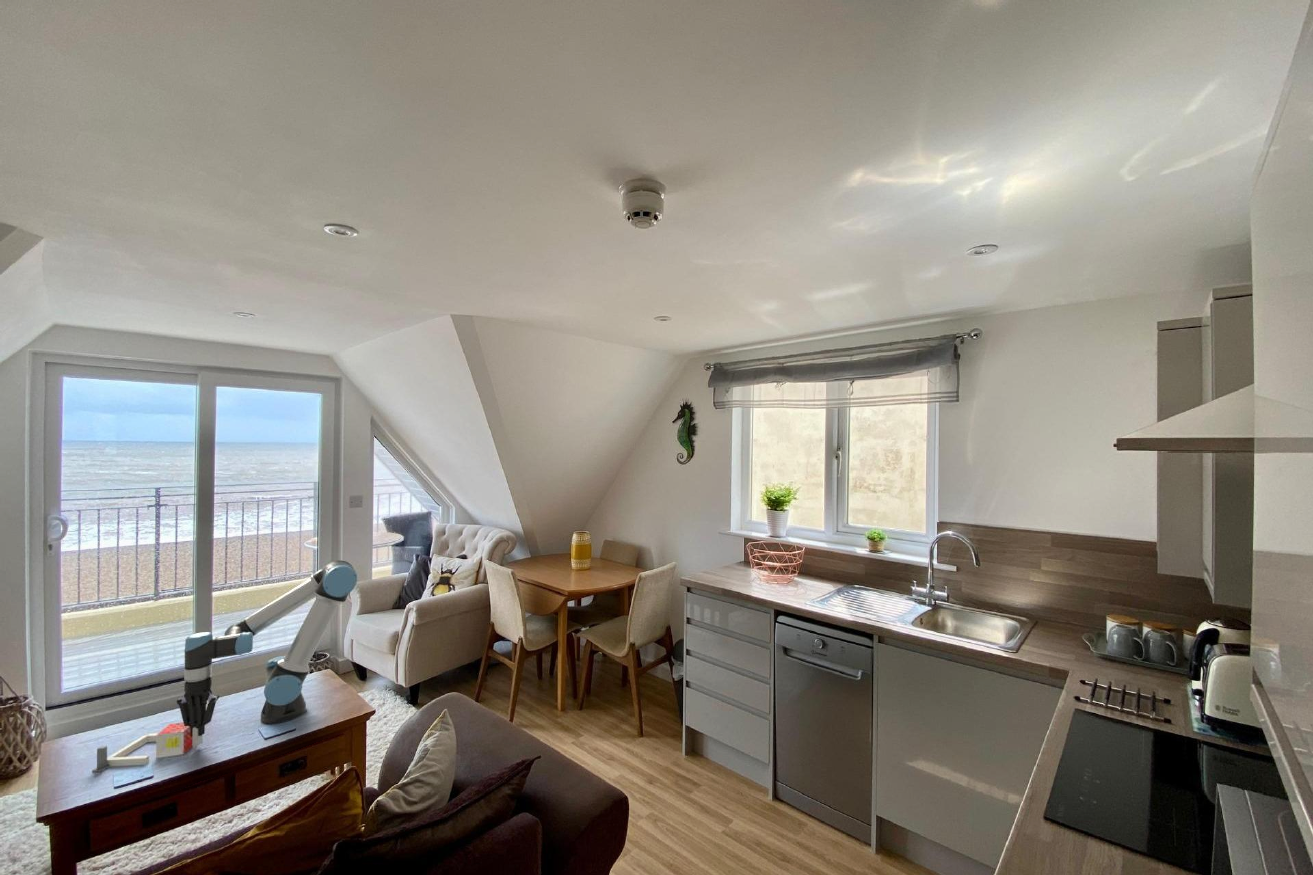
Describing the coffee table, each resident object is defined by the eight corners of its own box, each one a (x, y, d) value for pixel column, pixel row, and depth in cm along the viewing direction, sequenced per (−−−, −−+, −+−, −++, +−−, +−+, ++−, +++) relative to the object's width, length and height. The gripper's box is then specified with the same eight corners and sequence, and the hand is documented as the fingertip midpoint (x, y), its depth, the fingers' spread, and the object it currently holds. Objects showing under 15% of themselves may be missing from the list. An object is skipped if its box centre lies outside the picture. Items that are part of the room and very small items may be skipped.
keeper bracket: (184, 737, 202) (184, 718, 203) (137, 769, 183) (138, 748, 183) (143, 739, 201) (144, 720, 202) (92, 771, 181) (92, 750, 182)
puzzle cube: (156, 757, 189) (156, 734, 190) (169, 746, 197) (169, 724, 197) (183, 754, 192) (183, 731, 192) (195, 742, 199) (195, 720, 199)
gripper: (224, 672, 200) (224, 738, 199) (186, 674, 198) (186, 739, 198) (209, 681, 192) (209, 749, 191) (170, 683, 191) (169, 751, 190)
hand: (197, 744), depth 195 cm, fingers closed
